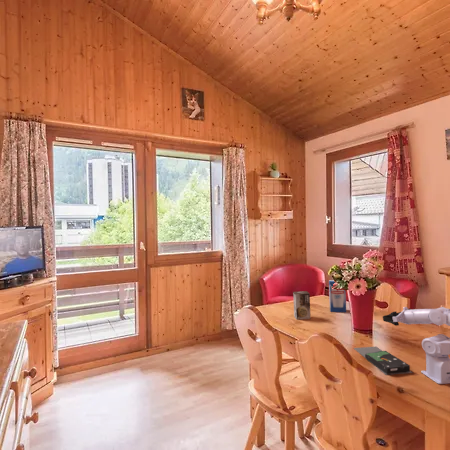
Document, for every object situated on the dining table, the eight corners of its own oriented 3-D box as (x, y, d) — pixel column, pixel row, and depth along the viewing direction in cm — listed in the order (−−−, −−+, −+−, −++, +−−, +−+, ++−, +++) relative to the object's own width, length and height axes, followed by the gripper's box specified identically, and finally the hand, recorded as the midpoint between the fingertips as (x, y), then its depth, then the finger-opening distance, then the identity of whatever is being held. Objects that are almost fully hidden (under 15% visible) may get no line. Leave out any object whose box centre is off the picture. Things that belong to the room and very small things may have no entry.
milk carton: (330, 311, 208) (329, 281, 207) (329, 309, 214) (328, 280, 213) (346, 312, 205) (345, 282, 205) (344, 309, 212) (344, 280, 211)
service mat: (413, 372, 124) (413, 372, 124) (385, 375, 123) (385, 374, 123) (376, 346, 150) (376, 346, 150) (353, 348, 149) (353, 347, 149)
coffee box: (307, 315, 201) (307, 290, 200) (310, 319, 194) (310, 293, 194) (293, 316, 200) (292, 291, 200) (296, 319, 194) (295, 293, 194)
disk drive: (410, 372, 125) (385, 356, 139) (410, 365, 125) (385, 349, 139) (387, 375, 123) (364, 358, 138) (387, 368, 123) (364, 352, 137)
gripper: (426, 304, 131) (397, 305, 143) (403, 308, 125) (375, 310, 136) (431, 321, 129) (402, 321, 141) (408, 327, 123) (379, 327, 135)
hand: (389, 317), depth 139 cm, fingers open, 7 cm apart
